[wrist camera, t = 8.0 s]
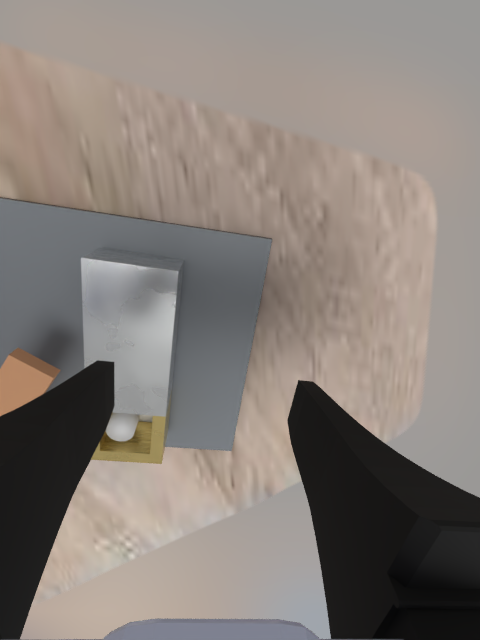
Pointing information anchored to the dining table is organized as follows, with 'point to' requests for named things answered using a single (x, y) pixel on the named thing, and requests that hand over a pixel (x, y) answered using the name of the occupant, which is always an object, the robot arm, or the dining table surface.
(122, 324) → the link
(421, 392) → the dining table surface
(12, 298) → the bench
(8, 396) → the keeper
